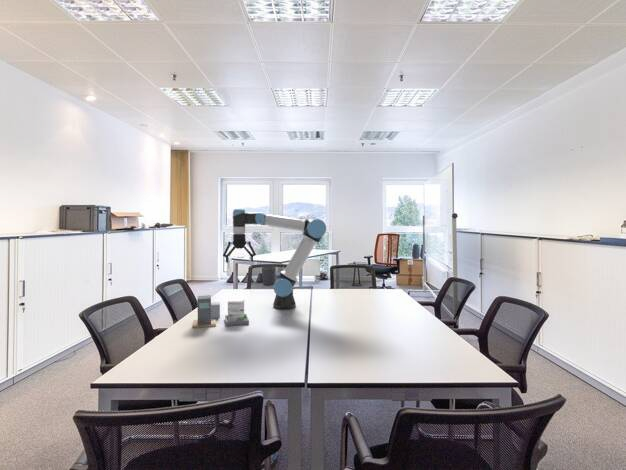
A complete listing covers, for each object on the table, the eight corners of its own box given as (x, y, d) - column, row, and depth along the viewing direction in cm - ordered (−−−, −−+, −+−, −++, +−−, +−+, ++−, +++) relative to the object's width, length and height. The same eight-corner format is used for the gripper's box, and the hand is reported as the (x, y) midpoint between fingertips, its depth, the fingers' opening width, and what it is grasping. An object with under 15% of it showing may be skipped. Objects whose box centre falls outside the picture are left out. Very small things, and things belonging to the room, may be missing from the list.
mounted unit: (215, 320, 197) (215, 294, 197) (215, 326, 186) (215, 298, 185) (193, 321, 194) (193, 295, 193) (192, 328, 182) (192, 300, 182)
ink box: (244, 319, 196) (244, 299, 196) (242, 322, 191) (242, 301, 191) (230, 319, 197) (230, 299, 196) (227, 322, 192) (227, 301, 191)
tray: (246, 317, 202) (246, 313, 202) (248, 324, 189) (248, 320, 189) (225, 319, 199) (225, 315, 199) (226, 326, 186) (225, 322, 186)
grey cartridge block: (219, 315, 209) (219, 302, 208) (219, 317, 203) (219, 304, 203) (211, 315, 207) (210, 302, 207) (211, 318, 201) (211, 305, 201)
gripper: (258, 233, 221) (258, 265, 222) (218, 233, 213) (218, 267, 214) (260, 233, 214) (260, 267, 215) (219, 234, 206) (219, 269, 207)
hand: (239, 267), depth 214 cm, fingers open, 13 cm apart
